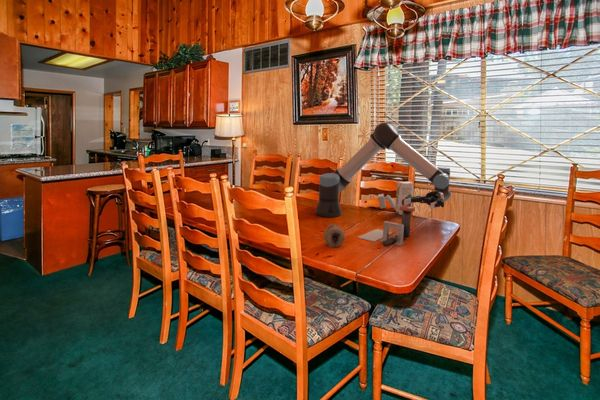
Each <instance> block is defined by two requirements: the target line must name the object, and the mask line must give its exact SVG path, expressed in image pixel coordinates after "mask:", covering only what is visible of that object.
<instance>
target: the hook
mask: <svg viewBox="0 0 600 400" xmlns="http://www.w3.org/2000/svg"><path fill="white" fill-rule="evenodd" d="M415 209H416V207H415V206H413V205H412V206H400V208H399V210H401V211H403V212H402V215H401V224H403V225H404V233H403V238H410V235H411V234H410V233H411V220H412V212H414V211H415ZM411 211H412V212H411ZM396 242H397V234H396V235H394V236H392V237H389V239H387V240H385V241H383V242H382V244H383V246H384V247H387V246H390V245H391V244H393V243H396Z"/></svg>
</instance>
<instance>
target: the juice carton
mask: <svg viewBox="0 0 600 400" xmlns="http://www.w3.org/2000/svg"><path fill="white" fill-rule="evenodd" d="M395 196H396V198H395V204H396V208H395V212H396V214H398V215H400V216H402V212H403V211H401V210H399V208H400V206H412V207H413V203H410V204H408V205H404V200H405V197H413V196H414V183H413V182H412V181H398V182H397V186H396V195H395ZM412 212H413V211H411V213H412Z"/></svg>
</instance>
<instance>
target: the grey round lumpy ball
mask: <svg viewBox="0 0 600 400" xmlns="http://www.w3.org/2000/svg"><path fill="white" fill-rule="evenodd" d="M323 235H324V237H323V238H324V242H325V244H326V246H328V247H329V248H339V247H340V246H342V245H343V243H344V242H345V240H346V236H345V231H344V230H343V228H341V227H340V225H339V224H334V223H333V224H330V225H328V226H327V227H326V229H325V230H324V232H323Z"/></svg>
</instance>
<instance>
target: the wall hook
mask: <svg viewBox="0 0 600 400" xmlns="http://www.w3.org/2000/svg"><path fill="white" fill-rule="evenodd" d="M377 198H378V205H379V208H380V209H383V210H384V209H386V208H387V207H386V201H387V203H389V205H390V207H391V208H392V209H396V201H394V199H393V198H392V197H391V195H389V194H387V195H386V196H385V195H384V193H381V194H377Z"/></svg>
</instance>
